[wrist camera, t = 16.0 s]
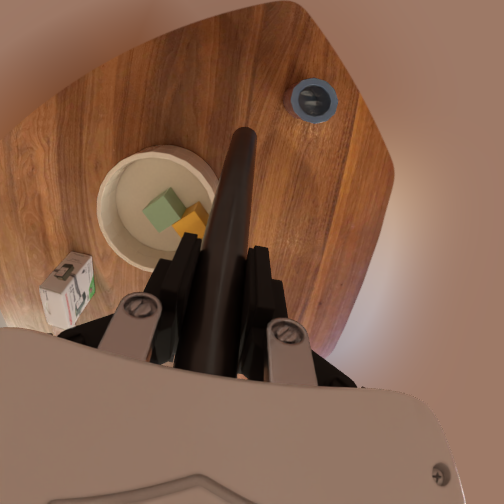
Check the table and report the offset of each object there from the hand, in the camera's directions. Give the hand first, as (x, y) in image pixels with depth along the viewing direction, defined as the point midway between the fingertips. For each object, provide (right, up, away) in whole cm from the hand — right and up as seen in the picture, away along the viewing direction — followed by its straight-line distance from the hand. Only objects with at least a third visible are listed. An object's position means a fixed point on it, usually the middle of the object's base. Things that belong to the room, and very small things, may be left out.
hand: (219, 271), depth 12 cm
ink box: (-30, -3, +36) cm, 47 cm away
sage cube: (-11, +8, +29) cm, 32 cm away
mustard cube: (-7, +6, +31) cm, 32 cm away
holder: (+8, +21, +23) cm, 32 cm away
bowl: (-12, +8, +30) cm, 33 cm away
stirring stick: (+1, +10, +11) cm, 15 cm away
